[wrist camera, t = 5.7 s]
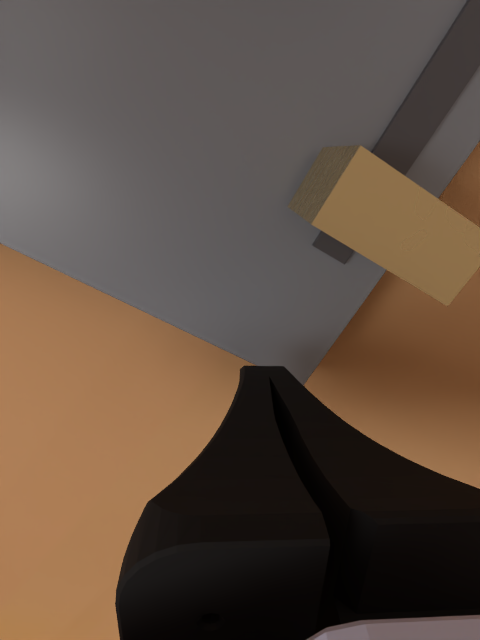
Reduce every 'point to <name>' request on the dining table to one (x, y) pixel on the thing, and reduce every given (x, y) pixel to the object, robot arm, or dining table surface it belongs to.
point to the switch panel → (222, 149)
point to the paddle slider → (389, 220)
